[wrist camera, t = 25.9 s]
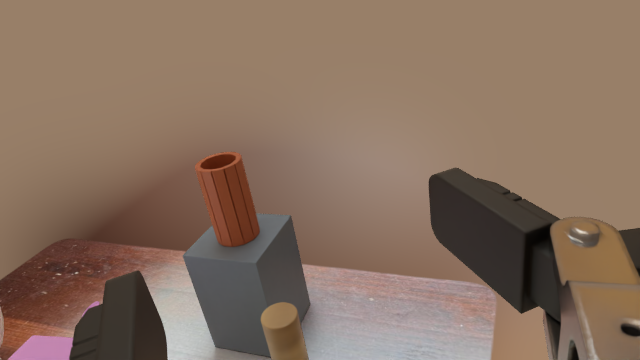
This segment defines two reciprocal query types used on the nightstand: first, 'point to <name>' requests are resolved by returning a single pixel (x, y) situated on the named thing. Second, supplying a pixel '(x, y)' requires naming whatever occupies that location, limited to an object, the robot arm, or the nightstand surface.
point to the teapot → (46, 347)
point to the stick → (284, 332)
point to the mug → (1, 328)
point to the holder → (242, 259)
